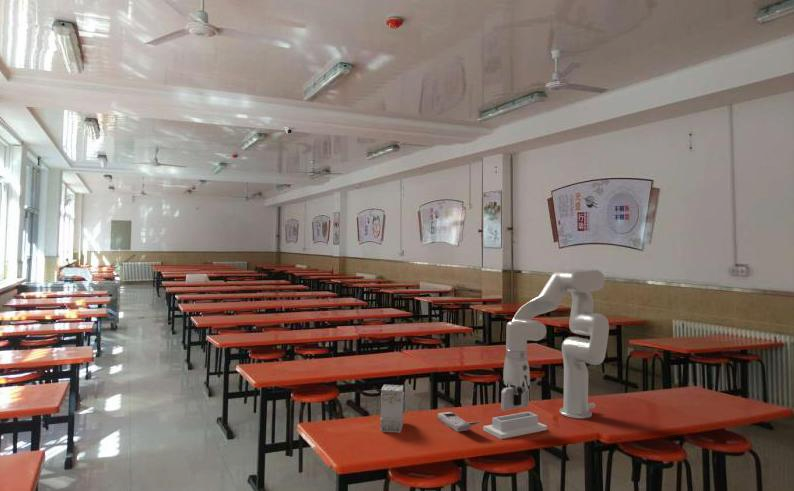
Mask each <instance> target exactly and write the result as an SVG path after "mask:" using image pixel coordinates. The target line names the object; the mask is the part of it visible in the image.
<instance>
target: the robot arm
mask: <svg viewBox="0 0 794 491" xmlns="http://www.w3.org/2000/svg"><path fill="white" fill-rule="evenodd" d="M604 285H605V276H604V273H602V271H601V270H599V269H594V268H593V269H592V268H589V269H586V268H569V269H567V270H565V269H564V270H563V269H561V270H560V269H559V270H555V271H554V272H553V273H552V274H551V275H550V278H549V279H548V280H547V281H546V283H545V284H544V286H543V288H542V290H541V291H540V293H539V295H537V296H536V297H534V298H533V299H531V300H529V301H528V302H526V303H525V304H523V305H522V306H521V307H520V308H519V309H518V310H517V312H515V314H514V316H513V318H512V320H510V321H508V322H507V323H506V327H505V328H506V334H505V335H506V336H505V337H506V338H505V341H506V342H505V357H504V363H503V372H502V375H503V384H504V385H505V386H506V388H508V387H514V386H515V394H514V405H515V406H517V405H521V394H523V392H524V391H528V389H529V386H530V385H531V384H530V383H531V375H530V374H531V373H530V371H531V370H530V365H529V364H530V363H529V360H528V359H527V357H528V354H527V352H528V351H527V349H528V346H527V345H528V341H535V342H537V341H540V340H543V339H544V338H545V337H546V336H547V327H546V325H545V324H544V323H543V322H541V321H539V320H533V318H535V317H537V316H539V315H542V314H546V313H549V312H552V311H555V310H557V309H558V307H559V306H560V304H561V303H562V301H563V300H564V298H565V297H566V295H567V293H569V292H570V295H571V308H570V315H569V324H568V326H569V330H570V331H571V333H573V334H577V335H581V336H587V337H589V338H590V339H588V338H583V337H577V336H568V337H566V338H565V339H564V340H563V341H562V343H561V354H562V359H563V406H562V407H560V408H559V413H560V414H561V415H562V416H565V417H567V418H572V419H578V420H579V419H580V420H581V419H590V418H591V417H592V416H593V415H592V414H593V413H592V411H590V410H591V409H594V408H596V404H595V403H594V402H589V370H588V367H587V364H590V365H596V366H597V365H601V364H602V363H604V360H605V358H606V353H607V348H608V340H609V331H610V324H609V320H608V318H607V316H605V315H603V314H601V313H599V312H597V313H596V312H594V298H593V295H592V293H591V292H596V291H599V290H601V289H602V288H603V287H604ZM518 388H520V389H519V390H518Z"/></svg>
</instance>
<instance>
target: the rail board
mask: <svg viewBox="0 0 794 491" xmlns="http://www.w3.org/2000/svg"><path fill="white" fill-rule="evenodd" d="M491 421H492V422H491V423H492V424H488V425H483V427H482V429H483V431H484V432H485V433H488V434H490V435H492V436H494V437H496V438H498V439H500V440H503V439H508V438H512V437H518V436H523V435H528V434H533V433H538V432H542V431H547V430H548V425H546V424H543V423H541V422H539V416H538V415H537V414H536V413H534V412H531V411H524V412H518V413H512V414H507V415H506V414H505V415H501V416H496V417H495V416H494V417H492V419H491Z"/></svg>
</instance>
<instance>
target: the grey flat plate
mask: <svg viewBox="0 0 794 491" xmlns="http://www.w3.org/2000/svg"><path fill="white" fill-rule="evenodd" d="M519 389H520V388H518V390H519ZM529 393H530V389H529V388H528V391H524V392H523V394H521V405H517V406H515V405H514V394H515V386H514V387H508V388H507V387H503V389H502V390H501V392H500V394H501V396H500V398H501V399H500V400H501V401H500V410H501V411H503V412H504V411H505V412H506V411H508V410H514V409H520V408H529V407H530V400H529V399H530V394H529Z"/></svg>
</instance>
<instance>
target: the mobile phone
mask: <svg viewBox="0 0 794 491" xmlns="http://www.w3.org/2000/svg"><path fill="white" fill-rule="evenodd" d="M437 418H438V419H439V421H440V422H441V423H443V424H444V425H446V426H448V427H450V429H452V430H454V431H455V432H465V431H466V432H467V431H469V430H470V427H471V426H472V427H473V426H475V425H477V424H480V423H481V420H479V421H471V422H468V421H467V422H466V421H465V420H464V419H462V418H461V417H459V415H457V414H455V413H453V412H451V411H447V412H439V413H437Z"/></svg>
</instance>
